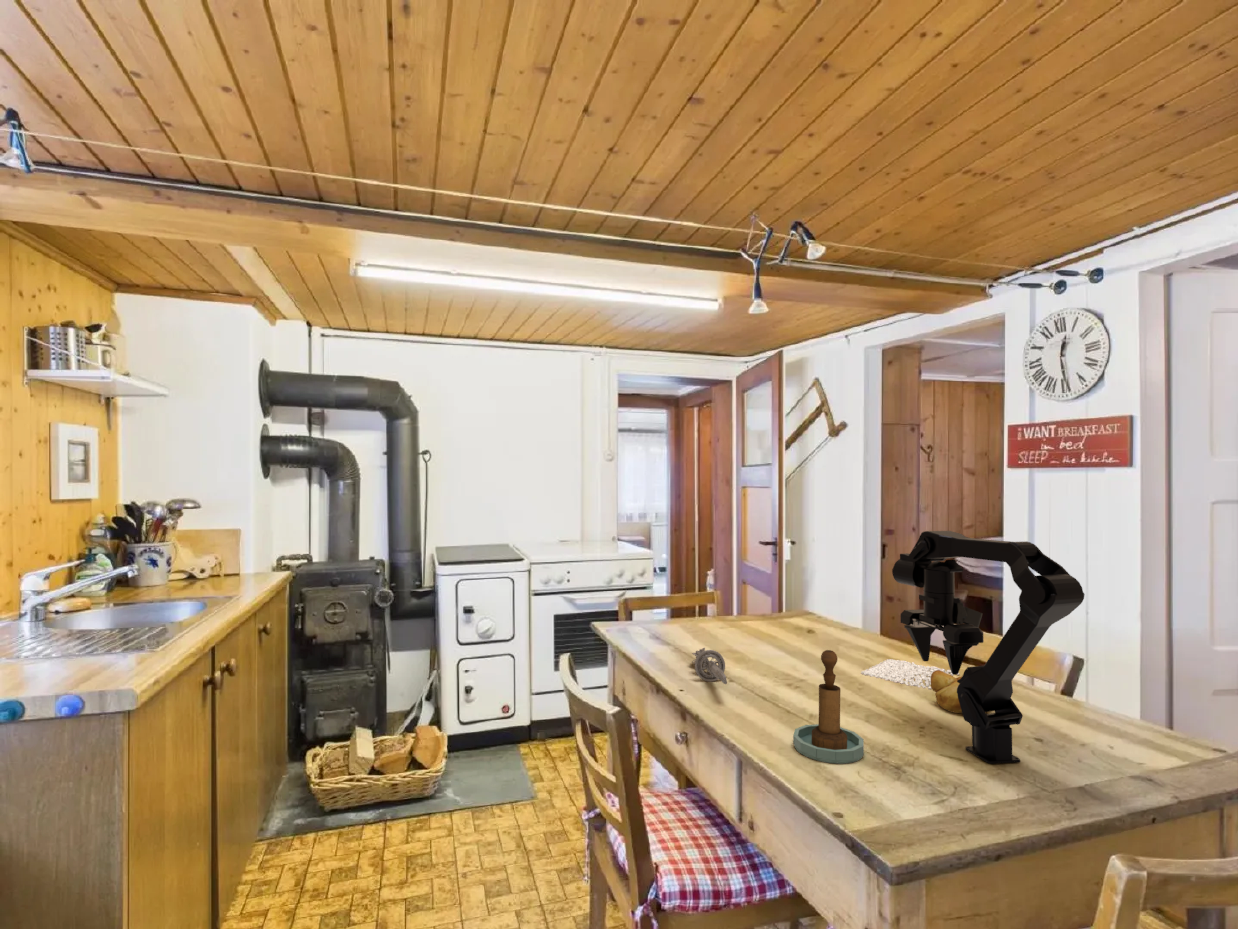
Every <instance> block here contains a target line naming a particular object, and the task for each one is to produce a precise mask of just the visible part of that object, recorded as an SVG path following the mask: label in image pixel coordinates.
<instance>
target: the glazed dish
mask: <svg viewBox="0 0 1238 929" xmlns="http://www.w3.org/2000/svg"><path fill="white" fill-rule="evenodd" d="M818 725H819V723H817V724H804V725H802V726H800V727H799V726H798V727H797V728H794V733H793V734H792V735H793V736H792V738H793V739H792V744H793V745H794V749H795V750H796V751H797V752H798V753H799V754H801V755H802V756H804V757H807V758H808V759H811V760H814V761H818V762H821V763H828V764H836V765H837V764H839V765H840V764H842V765H843V764H851V763H856V762H858V761H861V759H862V758H864V753H865V752H864V749H865V747H864V746H865V745H864V744H865V743H864V741H865V740H864V738H863V737H861V736H860V735H859V734H858V733H857V732H855V731H852V730H850V729H847V728H844V727H841V726H840V729H842V730H843V732H844V733H846V735H847V749H842V750H832V749H826V748H819V747H816V746H813V744H812V730H813V729H814V728H815V727H816V726H818Z"/></svg>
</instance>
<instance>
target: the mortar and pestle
mask: <svg viewBox="0 0 1238 929" xmlns="http://www.w3.org/2000/svg"><path fill="white" fill-rule="evenodd" d="M820 661H821V663H822V664H823V666H824V669H825V670H824V673H823V674H822V676H823V677H822V678H823V680H824V681H823V682H824V683H821V684H819V685H818V724H819V725H818V726H816V727H815V728H814V729H813V730H812V744H813V746H816V747H819V748H826V749H832V750H842V749H847V735H846V733H844V732H843V730H842V729H840V727H841V687H840V686H838V685H835V681H836V676H837V675H836V674H835V673H834V669H835V666H836V665H837V663H838V655H837V653H836V652H835V651H834V650H831V649H826V650H824V651H822V653H821V655H820Z"/></svg>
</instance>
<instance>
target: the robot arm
mask: <svg viewBox="0 0 1238 929" xmlns="http://www.w3.org/2000/svg"><path fill="white" fill-rule="evenodd" d="M957 558H968V559H975V560H984V561H993V562H1000V563H1001V562H1002V563H1006V564H1007V565H1008V567H1009V570H1010V572H1011V573H1010V574H1011V576H1012V580H1013V582H1014V583H1015V585H1016V586H1017V587H1018V588H1019V589H1020V591H1021V592H1020V594H1019V597H1018V602H1019V612H1018V613H1017V615H1016V617H1015V619H1014V620H1013V621H1012V623H1011V625H1010V626H1009V627H1008V629H1007V631H1006V632H1005V634H1004V635H1003V636H1002V638H1001V639H1000V641H999V643H998V644H997V645H996V647H995V649H994V650H993V652H992V653H991V655H990V656H989V658H988V659H987V661H986V662H985V663H984V664H983V665H977V666H967V667H966V669H965V670H964V672H963V674H962V676H961V677H962V678H961V679H959V680H957V682H958V683H960V684H959V685H958V687H957V694H958V700H959V703H960V707H961V710H962V712H961V714H962V717H963V720H964V722H966V723H969V725H970V726H971V743H972V744H971V746H965V750H966V751H968V752H969V753H971V754H972V755H973V756H976V757H977V758H979V759H980V760H983V762H985V763H986V764H990V765H994V764H995V765H996V764H1007V763H1020V762H1021V758H1019V757H1017V756H1016V755H1014V754H1013V728H1012V727H1011V726H1013V725H1021V722H1022V719H1023V717H1024V715H1023V713H1022V712H1021V711H1020V709H1019V708H1018V706H1017V704H1016V703H1015V702H1014V701H1013V699H1012V695H1013V693H1014V690H1013V682H1012V681H1013V680H1014V678H1015V677H1016V675H1017V674H1018V673H1019V670H1021V668H1022V667H1023V665H1024V664H1025V662H1026V661H1027V659H1029V657H1030V655H1031V653H1033V651H1034V650H1035V649H1036V647H1037V646H1038V644H1039V643H1040V641H1042V639H1043V637H1044V635H1046V633H1047V631H1048V630H1049V628H1050V627H1051V626H1052V625H1054V624H1056V623H1057V622H1058V621H1061V620H1062V619H1064V618H1065V617H1067V616H1069V615H1070V614H1071V613H1072V612H1073V611H1075V609H1077V608H1079V606H1080V605H1082V603H1083V601H1084V599H1085V592H1084V591H1083V587H1082V584H1081V583H1080V581H1079V580H1078V579H1076V577H1074V576H1073V575H1071V574H1070V573H1069V572H1068V571H1067V570H1066V569H1065V568H1064V567H1063V566H1062V565H1061V564H1060V563H1058V562H1057V561H1054V560H1053V559H1051V557H1049V556H1047V554H1044V552H1042V551H1041V549H1040V548H1039V547H1038V546H1037V545H1036V544H1035V543H1032V542H1030V541H1008V540H998V539H985V538H983V539H982V538H972V537H967V536H966V535H964V534H962V533H960V532H956V531H953V530H926V531H925V530H924V531H922V532H921V534H919V537H918V540H917V542H916V543H915V544H914V547H913V548H912V550H911V551H910V552H909V553H900V554H899V559H897V560H896V561H895V562H894V565H893V568H892V569H891V573H892V576H893V580H894V581H896V582H897V583H898V584H901V585H906V586H912V587H916V588H920V589H921V588H923V594H918V598H919V601H923V609H904V610H903V611H902V612H901V613H900V623H901V624H904V625H903V626H904V628H905V629H906V630H907V632H908V634H909V636H910V637H911V639H912V641H913V643H914V646H915V647H916V649H917V651H918V653H919V656H920V657H921V659H922V661H923V662H929V661H930V653H931V640H932V634H934V632H935V630H938V631H941V632H942V636H943V638H944V639H943V640H942V644H943V648H944V652H945V656H946V659H947V663H948V668H949V670H951V673H952V674H953V676H958V675H957V674H958V673H959V674H960V670H961V667H962V665H963V662H964V659H965V657H966V655H967V653H968V651H969V650H970V649H971V648H973V647H976V646H978V645H979V644H983V643H984V632H983V630H982V629H981V628H980V623H981V620H982V617H983V613H982V612H979V611H977V610H974V609H972V608H969V607H967V606H964V603H963V602H962V601H961V599H960V597H957V596H955V595H956V594H955V573H963V572H964V568H963V567H962V566H961V565H960V564H959V563H957V561H956V559H957ZM1032 570H1033V571H1034V572H1036V573H1038V575H1035V574H1034V573H1033V571H1032ZM951 673H950V674H951ZM987 712H991V713H987ZM992 712H993V713H992Z"/></svg>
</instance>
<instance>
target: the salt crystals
mask: <svg viewBox="0 0 1238 929" xmlns="http://www.w3.org/2000/svg"><path fill="white" fill-rule="evenodd" d="M936 670H940V671H943V672H945V673H947V674H949V675H951V676H953V677H954V675H953V674H952V673H951V670H950V668H949V669H947V670H946V669H944V668H939V667H937V666H934V665H933V666H932V665H931V666H929V665H926V666H925V665H922V664H920V665H919V664H915V661H914V662H913V661H912V662H911V661H910V662H909V661H906V660H900V659H897V660H896V659H893V658H891V659H890V658H888V659H885V660H883V661H880V662H879V663H877V664H875V665H872V666H871V667H868V668H866V669H865V670H861V671H860V674H861V675H864V676H868V677H872V678H876V679H882V680H885V681H890V682H893V683H900V684H901V685H906V686H910V687H917V688H922V689H928V690H932V688H931V675H932V673H933V672H934V671H936ZM959 675H960V672H959V673H958V674H957V675H956V676H959ZM914 679H915V680H914ZM923 682H924V683H923Z"/></svg>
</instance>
